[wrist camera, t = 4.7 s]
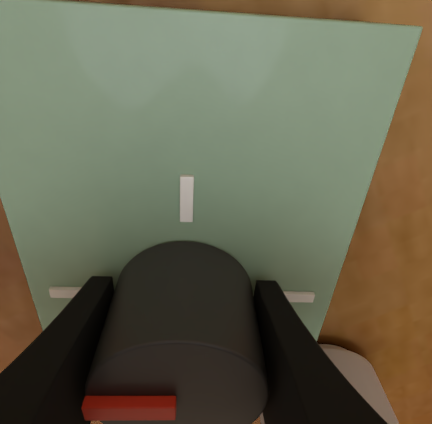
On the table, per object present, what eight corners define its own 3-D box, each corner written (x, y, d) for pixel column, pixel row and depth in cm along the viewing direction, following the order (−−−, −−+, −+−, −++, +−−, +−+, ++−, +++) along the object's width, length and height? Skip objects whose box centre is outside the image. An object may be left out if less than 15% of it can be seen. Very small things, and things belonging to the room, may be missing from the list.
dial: (259, 242, 10) (287, 355, 7) (244, 338, 12) (259, 457, 9) (109, 238, 10) (62, 354, 6) (123, 337, 12) (93, 459, 9)
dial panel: (290, 314, 16) (308, 375, 13) (79, 310, 15) (53, 374, 13) (365, 21, 10) (428, 27, 7) (9, -4, 9) (-73, -9, 6)
